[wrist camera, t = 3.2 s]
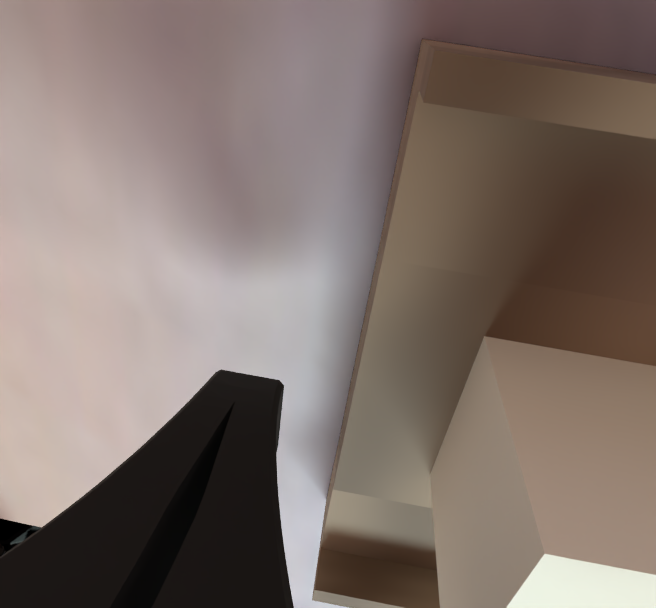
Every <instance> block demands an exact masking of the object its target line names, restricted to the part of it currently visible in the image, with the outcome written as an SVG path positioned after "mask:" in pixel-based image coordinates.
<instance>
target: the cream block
mask: <svg viewBox="0 0 656 608" xmlns="http://www.w3.org/2000/svg"><path fill="white" fill-rule="evenodd" d="M430 483H431V496H432V509H433V523H434V536H435V549H436V562H437V576H438V589H439V602H440V608H656V366H651V365H646V364H640V363H634V362H629V361H623V360H617V359H612V358H606V357H600V356H594V355H589V354H583V353H577V352H572V351H566V350H560V349H555V348H549V347H543V346H537V345H532V344H526V343H520V342H515V341H509V340H503V339H498V338H492V337H486V336H484V338H483V341H482V343H481V346H480V348H479V351H478V353H477V356H476V359H475V361H474V364H473V366H472V369H471V371H470V374H469V376H468V379H467V382H466V384H465V387H464V389H463V392H462V394H461V397H460V399H459V402H458V405H457V407H456V410H455V412H454V415H453V417H452V420H451V422H450V425H449V428H448V430H447V433H446V435H445V438H444V440H443V443H442V445H441V448H440V450H439V453H438V456H437V458H436V461H435V463H434V466H433V468H432V471H431V473H430Z"/></svg>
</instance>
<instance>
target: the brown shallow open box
mask: <svg viewBox="0 0 656 608" xmlns="http://www.w3.org/2000/svg"><path fill="white" fill-rule="evenodd" d="M484 336H486V337H492V338H498V339H503V340H509V341H515V342H520V343H526V344H532V345H537V346H543V347H549V348H555V349H560V350H566V351H572V352H577V353H583V354H589V355H594V356H600V357H606V358H612V359H617V360H623V361H629V362H634V363H640V364H646V365H651V366H656V75H655V74H649V73H642V72H636V71H629V70H622V69H616V68H609V67H603V66H596V65H590V64H583V63H577V62H570V61H564V60H557V59H551V58H544V57H538V56H531V55H525V54H518V53H512V52H505V51H498V50H492V49H485V48H479V47H472V46H466V45H459V44H453V43H446V42H440V41H433V40H427V39H422V41H421V46H420V51H419V56H418V61H417V66H416V70H415V75H414V80H413V85H412V90H411V95H410V99H409V104H408V109H407V114H406V119H405V123H404V128H403V133H402V138H401V143H400V148H399V152H398V157H397V162H396V167H395V172H394V177H393V181H392V186H391V191H390V196H389V201H388V205H387V210H386V215H385V220H384V225H383V230H382V234H381V239H380V244H379V249H378V254H377V259H376V263H375V268H374V273H373V278H372V283H371V288H370V292H369V297H368V302H367V307H366V312H365V316H364V321H363V326H362V331H361V336H360V341H359V345H358V350H357V355H356V360H355V365H354V370H353V374H352V379H351V384H350V389H349V394H348V399H347V403H346V408H345V413H344V418H343V423H342V427H341V432H340V437H339V442H338V447H337V452H336V456H335V461H334V466H333V471H332V476H331V481H330V485H329V490H328V495H327V500H326V506H325V513H324V520H323V527H322V534H321V542H320V549H319V556H318V563H317V570H316V577H315V584H314V591H313V598H312V600H314V601H319V602H324V603H329V604H334V605H339V606H344V607H349V608H440V602H439V589H438V576H437V562H436V549H435V536H434V523H433V509H432V496H431V483H430V473H431V471H432V468H433V466H434V463H435V461H436V458H437V456H438V453H439V450H440V448H441V445H442V443H443V440H444V438H445V435H446V433H447V430H448V428H449V425H450V422H451V420H452V417H453V415H454V412H455V410H456V407H457V405H458V402H459V399H460V397H461V394H462V392H463V389H464V387H465V384H466V382H467V379H468V376H469V374H470V371H471V369H472V366H473V364H474V361H475V359H476V356H477V353H478V351H479V348H480V346H481V343H482V341H483V338H484Z"/></svg>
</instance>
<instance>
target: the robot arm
mask: <svg viewBox="0 0 656 608" xmlns="http://www.w3.org/2000/svg"><path fill="white" fill-rule="evenodd" d="M283 390H284V385H283V384H282V383H281V382H280V381H279V380H275V379H269V378H264V377H258V376H253V375H247V374H242V373H236V372H231V371H225V370H219V371H218V372H216V373H215V374H214V375H213V376H212V377H211V378H210V379H209V381H208V382H207V383H206V384H205V385H204V386H203V387H202V388H201V389H200V390H199V391H198V392H197V393H196V394H195V395H194V396H193V398H192V399H191V400H190V401H189V402H188V403H187V404H186V405H185V406H184V407H183V408H182V409H181V410H180V411H179V412H178V413H177V414H176V415H175V416H174V417H173V418H172V419H171V420H169V421H168V422H167V423H166V424H165V425H164V426H163V427H162V428H161V429H160V430H159V431H158V432H157V433H156V434H155V435H154V436H153V437H151V438H150V439H149V440H148V441H147V442H146V443H145V444H144V445H143V446H142V447H141V448H140V449H138V450H137V451H136V452H135V453H134V454H133V455H132V456H130V457H129V458H128V459H127V460H126V461H125V462H123V463H122V464H121V465H120V466H119V467H118V468H116V469H115V470H114V471H113V472H112V473H111V474H109V475H108V476H107V477H106V478H105V479H104V480H102V481H101V482H100V483H99V484H98V485H96V486H95V487H94V488H93V489H91V490H90V491H89V492H88V493H86V494H85V495H84V496H83V497H81V498H80V499H79V500H78V501H76V502H75V503H74V504H72V505H71V506H70V507H69V508H67V509H66V510H65V511H63V512H62V513H61V514H59V515H58V516H57V517H55V518H54V519H53V520H51V521H50V522H49V523H47V524H46V525H45V526H43V527H42V528H41V529H39V530H38V531H36V532H35V533H34V534H32V535H31V536H29V537H28V538H26V539H25V540H24V541H22V542H21V543H19V544H18V545H16V546H15V547H14V548H12V549H11V550H9V551H8V552H6V553H5V554H3V555H2V556H1V557H0V608H294V607H293V601H292V596H291V590H290V585H289V578H288V572H287V565H286V559H285V552H284V545H283V537H282V529H281V520H280V509H279V499H278V486H277V463H276V452H277V447H278V440H279V430H280V420H281V410H282V400H283Z"/></svg>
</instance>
